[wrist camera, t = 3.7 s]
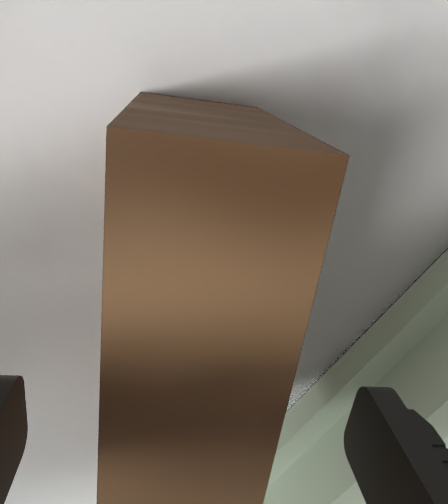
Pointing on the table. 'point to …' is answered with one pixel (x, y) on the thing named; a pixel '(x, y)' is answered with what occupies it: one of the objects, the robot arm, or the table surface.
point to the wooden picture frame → (205, 295)
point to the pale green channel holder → (371, 375)
